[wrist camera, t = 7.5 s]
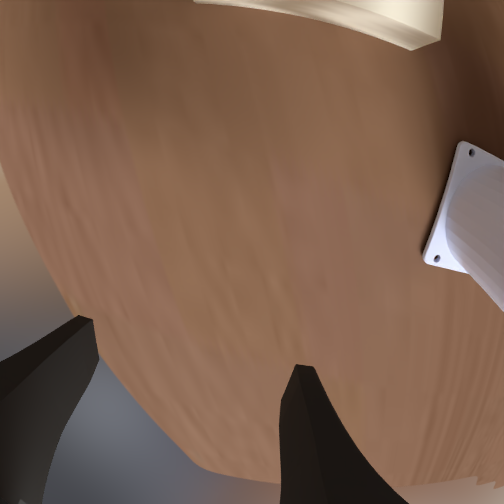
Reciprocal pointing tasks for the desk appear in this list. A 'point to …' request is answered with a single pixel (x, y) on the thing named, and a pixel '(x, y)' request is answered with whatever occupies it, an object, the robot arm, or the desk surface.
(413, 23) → the birch block
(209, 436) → the desk surface
